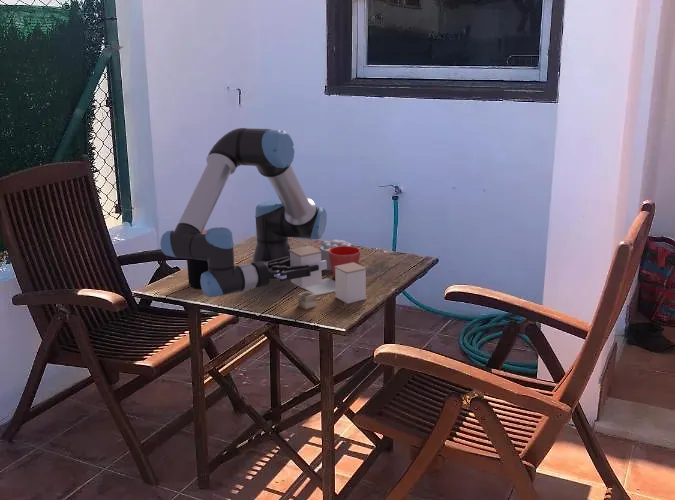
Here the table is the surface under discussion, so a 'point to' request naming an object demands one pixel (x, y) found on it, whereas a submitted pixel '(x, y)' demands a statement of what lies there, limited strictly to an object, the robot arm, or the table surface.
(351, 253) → the flower pot
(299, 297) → the open box
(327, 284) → the felt mat
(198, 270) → the coffee jar
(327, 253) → the lumpy-topped squat cylinder
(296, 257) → the cover canister
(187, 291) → the table surface
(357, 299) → the empty canister
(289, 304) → the table surface
